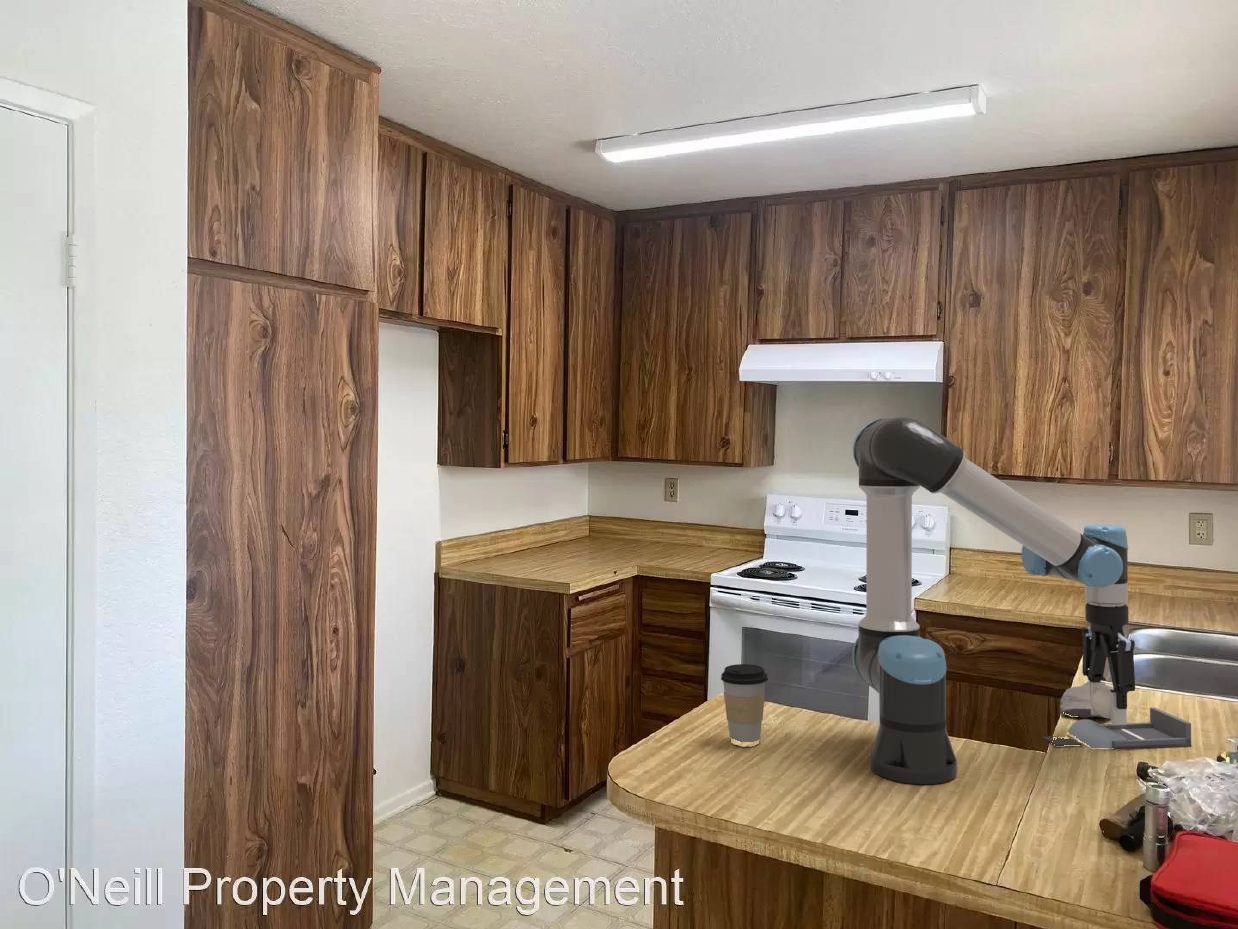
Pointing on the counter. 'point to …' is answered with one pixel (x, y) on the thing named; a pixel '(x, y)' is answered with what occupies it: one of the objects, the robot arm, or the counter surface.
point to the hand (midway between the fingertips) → (1108, 719)
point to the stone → (1078, 701)
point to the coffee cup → (744, 700)
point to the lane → (1153, 732)
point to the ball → (1102, 702)
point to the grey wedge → (1094, 734)
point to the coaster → (1061, 741)
